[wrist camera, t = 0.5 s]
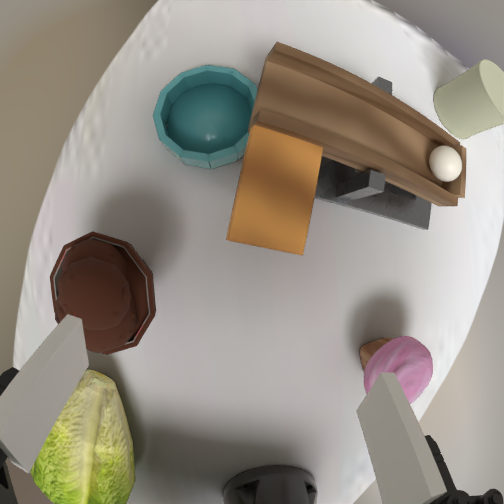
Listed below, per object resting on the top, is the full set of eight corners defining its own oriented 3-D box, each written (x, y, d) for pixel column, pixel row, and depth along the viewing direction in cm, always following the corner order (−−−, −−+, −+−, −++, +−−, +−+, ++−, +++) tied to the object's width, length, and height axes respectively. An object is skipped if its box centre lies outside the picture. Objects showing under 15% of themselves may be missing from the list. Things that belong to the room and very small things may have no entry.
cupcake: (338, 341, 34) (371, 375, 24) (394, 311, 35) (440, 333, 25) (355, 393, 35) (385, 432, 25) (407, 363, 35) (446, 393, 25)
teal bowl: (248, 176, 32) (250, 169, 29) (150, 159, 32) (142, 151, 28) (267, 89, 32) (271, 75, 28) (176, 75, 31) (172, 61, 28)
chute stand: (423, 229, 34) (471, 229, 25) (264, 186, 33) (276, 167, 23) (431, 141, 34) (474, 123, 24) (284, 88, 32) (300, 46, 23)
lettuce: (72, 341, 37) (164, 385, 40) (40, 458, 29) (123, 496, 32) (38, 352, 23) (170, 416, 27) (12, 498, 16) (120, 547, 19)
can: (474, 147, 34) (526, 131, 22) (434, 125, 34) (487, 100, 22) (470, 101, 34) (516, 78, 22) (431, 77, 33) (476, 46, 21)
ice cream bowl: (101, 223, 32) (23, 218, 17) (187, 248, 33) (150, 261, 18) (85, 306, 32) (12, 344, 17) (166, 335, 33) (125, 399, 18)
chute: (412, 277, 32) (451, 286, 26) (218, 237, 26) (234, 242, 19) (428, 148, 32) (466, 141, 25) (257, 69, 25) (281, 35, 19)
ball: (440, 187, 28) (467, 186, 25) (421, 175, 27) (449, 172, 23) (442, 155, 28) (468, 152, 24) (423, 142, 27) (450, 137, 23)
